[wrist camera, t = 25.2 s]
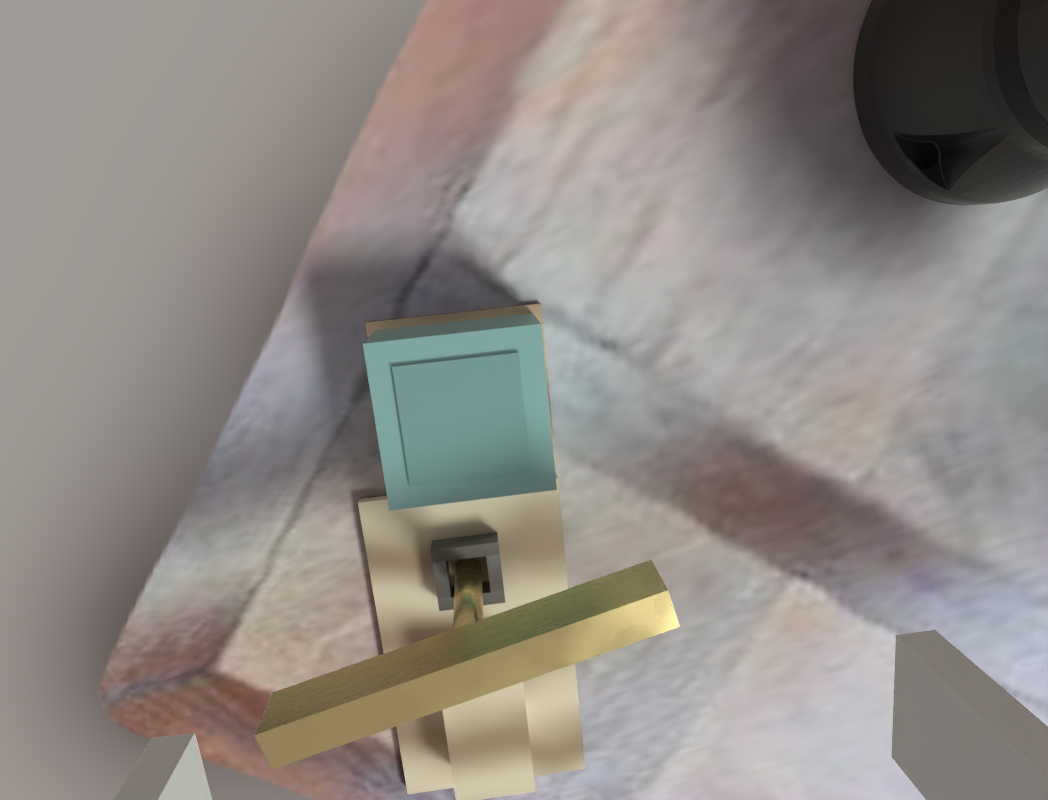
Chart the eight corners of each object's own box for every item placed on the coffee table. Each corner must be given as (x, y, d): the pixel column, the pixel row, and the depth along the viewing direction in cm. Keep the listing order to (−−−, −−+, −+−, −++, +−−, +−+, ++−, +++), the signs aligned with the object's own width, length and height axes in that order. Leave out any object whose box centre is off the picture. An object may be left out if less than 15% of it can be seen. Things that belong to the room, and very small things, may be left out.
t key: (321, 635, 43) (272, 769, 32) (308, 608, 42) (254, 735, 31) (627, 528, 42) (679, 626, 32) (617, 499, 42) (668, 590, 31)
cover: (375, 330, 39) (362, 344, 34) (532, 312, 40) (541, 324, 35) (398, 479, 41) (388, 512, 36) (547, 461, 42) (557, 491, 37)
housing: (359, 498, 42) (349, 522, 38) (556, 474, 42) (564, 496, 39) (408, 787, 47) (403, 830, 43) (583, 761, 47) (592, 802, 44)
